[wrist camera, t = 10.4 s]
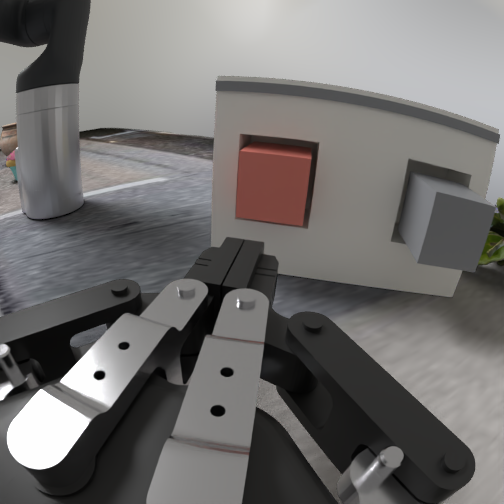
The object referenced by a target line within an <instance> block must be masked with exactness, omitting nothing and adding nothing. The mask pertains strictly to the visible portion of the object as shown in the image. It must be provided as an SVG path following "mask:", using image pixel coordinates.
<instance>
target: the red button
mask: <svg viewBox="0 0 504 504" xmlns="http://www.w3.org/2000/svg"><path fill="white" fill-rule="evenodd" d="M310 166H311V148H309V147H301V146H293V145H285V144H276V143H266V142H256V141H254V142H253V143H251V144H249V145H248V146H246V147H245V148H243V149H242V150H240V151H239V167H238V184H237V202H236V217H239V218H247V219H255V220H262V221H270V222H277V223H284V224H292V225H299V226H303V220H304V213H305V205H306V198H307V190H308V182H309V174H310Z"/></svg>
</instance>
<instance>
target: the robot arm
mask: <svg viewBox="0 0 504 504" xmlns="http://www.w3.org/2000/svg"><path fill="white" fill-rule="evenodd" d="M90 3H91V1H90V0H0V42H4V43H9V44H13V45H17V46H22V47H36V46H40V45H44V44H47V47H46V49H45V50H44V52H43V53H42V54H41V55H40V57H38V58H37V60H35V61H34V62H33V63H32V64H31V65H30V66H28V67H27V68H25V69H24V70H23V71H21V72H20V74H19V75H18V77H17V84H16V93H17V94H16V115H17V116H16V120H17V141H18V147H17V148H16V149H15V161H16V171H17V179H18V187H19V194H20V200H21V207H22V212H23V213H26V215H27V216H28V217H29V218H33V219H47V218H53V217H57V216H61V215H65V214H68V213H70V212H73V211H75V210H77V209H78V208H80V207H81V206H82V205H83V203H84V199H83V189H82V178H81V163H80V145H79V105H78V104H79V84H78V83H79V74H80V70H81V66H82V61H83V52H84V44H85V37H86V30H87V25H88V19H89V13H90ZM278 266H279V262H278V260H277V259H276V257H275V256H273V255H266V254H264V242H260V241H253V240H245V239H240V238H233V237H226V239H225V240H224V242H223V243H222V245H221V246H220V248H219V247H211V248H209V249H207V250H205V251H203V253H202V254H201V255H200V257H199V259H197V261H196V262H195V264H194V265H193V266H192V268H191V269H190V270H189V272H188V273H187V275H186V276H185V277H184V279H179V280H176V281H173V282H171V283H170V284H168V285H167V286H166V287H165V289H164V290H163V291H162V292H161V293H141V291H140V286H139V285H138V284H137V283H136V282H135V281H132V280H128V279H119V280H114V281H110V282H107V283H104V284H101V285H98V286H95V287H91V288H88V289H85V290H82V291H79V292H76V293H73V294H70V295H66V296H63V297H60V298H57V299H54V300H51V301H48V302H45V303H42V304H39V305H35V306H32V307H29V308H26V309H23V310H20V311H17V312H14V313H11V314H8V315H5V316H2V317H0V504H338V503H337V501H336V500H335V499H334V497H333V496H332V495H331V493H330V492H329V490H328V489H327V488H326V486H325V485H324V484H323V482H322V481H321V479H320V478H319V477H318V475H317V474H316V472H315V471H314V470H313V468H312V467H311V465H310V464H309V463H308V461H307V460H306V458H305V457H304V455H303V454H302V453H301V451H300V450H299V448H298V447H297V445H296V444H295V442H294V441H293V439H292V438H291V436H290V435H289V433H288V432H287V431H286V429H285V428H284V427H283V426H282V425H281V424H280V423H279V422H278V421H277V420H276V419H274V418H273V417H272V416H271V415H269V414H268V413H266V412H265V411H263V410H261V409H259V408H257V407H256V402H257V395H258V387H259V380H260V378H261V379H263V380H265V381H268V382H270V383H272V384H274V385H276V388H277V392H278V393H279V395H280V396H281V398H282V399H283V400H284V402H285V403H286V404H287V406H288V407H289V408H290V409H291V411H292V412H293V413H294V415H295V416H296V417H297V419H298V420H299V421H300V423H301V424H302V425H303V426H304V428H305V429H306V430H307V432H308V433H309V434H310V435H311V437H312V438H313V439H314V440H315V442H316V443H317V444H318V445H319V447H320V448H321V449H322V450H323V452H324V453H325V454H326V455H327V457H328V458H329V459H330V460H331V462H332V463H333V464H334V465H335V466H336V468H337V469H338V470H339V471H340V472H341V474H342V475H341V477H340V478H339V481H338V484H337V493H338V496H339V498H340V500H341V501H342V503H343V504H442V503H444V502H445V501H446V500H448V499H449V498H450V497H451V496H452V495H453V494H454V493H455V492H457V491H458V490H460V489H461V488H462V487H463V486H465V485H466V484H467V483H468V482H469V481H470V480H471V478H472V477H473V474H474V472H475V459H474V456H473V454H472V452H471V450H470V449H469V448H468V447H467V446H466V445H465V444H464V443H463V442H462V441H461V440H460V439H459V438H458V437H457V436H456V435H454V434H453V433H452V432H451V431H450V430H449V429H448V428H447V427H446V426H445V425H444V424H443V423H442V422H440V421H439V420H438V419H437V418H436V417H435V416H434V415H433V414H432V413H431V412H430V411H429V410H428V409H426V408H425V407H424V406H423V405H422V404H421V403H420V402H419V401H418V400H417V399H416V398H415V397H414V396H412V395H411V394H410V393H409V392H408V391H407V390H406V389H405V388H404V387H403V386H402V385H401V384H400V383H398V382H397V381H396V380H395V379H394V378H393V377H392V376H391V375H390V374H389V373H388V372H387V371H385V370H384V369H383V368H382V367H381V366H380V365H379V364H378V363H377V362H376V361H375V360H374V359H372V358H371V357H370V356H369V355H368V354H367V353H366V352H365V351H364V350H363V349H362V348H361V347H360V346H358V345H357V344H356V343H355V342H354V341H353V340H352V339H351V338H350V337H349V336H348V335H347V334H345V333H344V332H343V331H342V330H341V329H340V328H339V327H338V326H337V325H336V324H335V323H333V322H332V321H331V320H330V319H329V318H328V317H326V316H324V315H322V314H319V313H315V312H300V313H297V314H295V315H293V316H292V317H291V318H290V319H288V318H286V317H283V316H281V315H279V314H278V313H276V312H275V311H274V310H273V309H272V305H273V300H274V296H275V289H276V282H277V274H278ZM105 323H106V325H107V329H108V330H107V331H106V332H105V333H104V334H103V336H102V337H101V338H100V339H99V340H98V341H95V342H92V343H89V344H87V345H84V346H81V347H78V348H75V347H72V346H70V340H71V338H72V337H73V336H74V335H75V334H77V333H80V332H83V331H85V330H88V329H91V328H94V327H97V326H99V325H102V324H105Z"/></svg>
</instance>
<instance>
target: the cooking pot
mask: <svg viewBox="0 0 504 504" xmlns="http://www.w3.org/2000/svg"><path fill="white" fill-rule="evenodd" d="M1 127H2V128H3V130H2V134H1V138H0V148H1V150H2V152H3V153H4V154H5V155H6V156H9V155H10V154H11V152H12V151H14V150H15V149H16V148H17V147H18V141H17V123H12V124H8V125H4V126H1Z"/></svg>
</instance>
